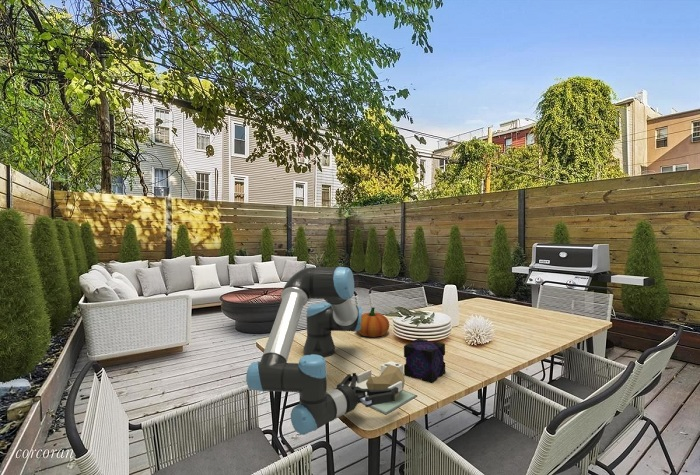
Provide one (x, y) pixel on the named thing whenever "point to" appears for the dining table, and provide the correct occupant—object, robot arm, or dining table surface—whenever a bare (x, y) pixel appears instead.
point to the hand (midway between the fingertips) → (385, 379)
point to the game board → (388, 406)
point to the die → (391, 364)
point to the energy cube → (424, 360)
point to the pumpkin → (373, 324)
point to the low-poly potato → (386, 379)
